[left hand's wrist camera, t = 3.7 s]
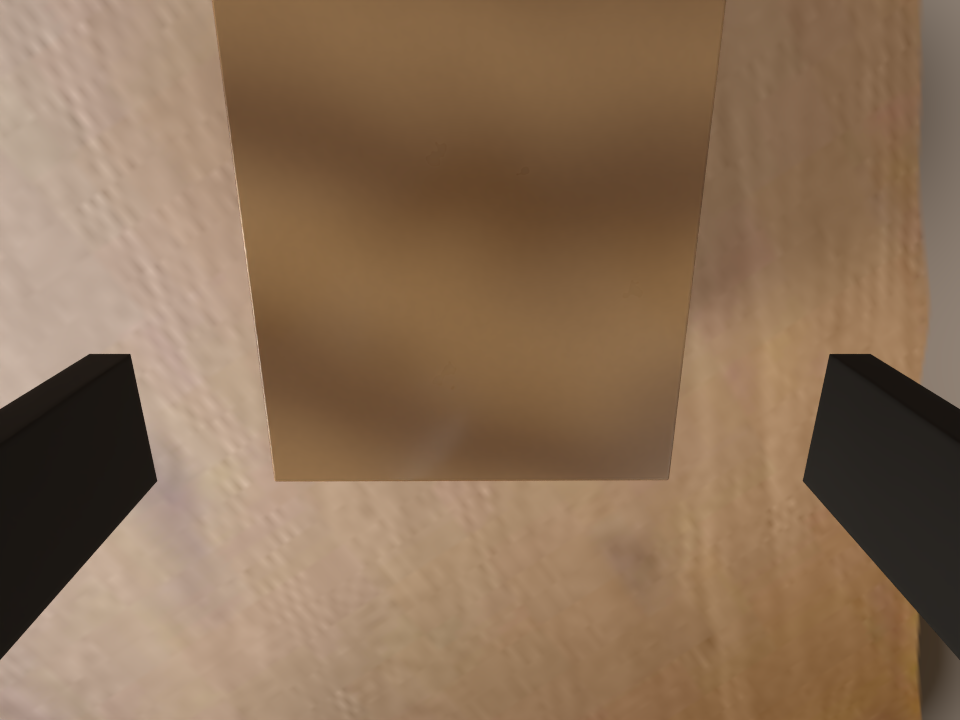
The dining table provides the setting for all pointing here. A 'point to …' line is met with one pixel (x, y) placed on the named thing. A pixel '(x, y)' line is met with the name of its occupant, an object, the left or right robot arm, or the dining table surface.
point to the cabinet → (470, 229)
